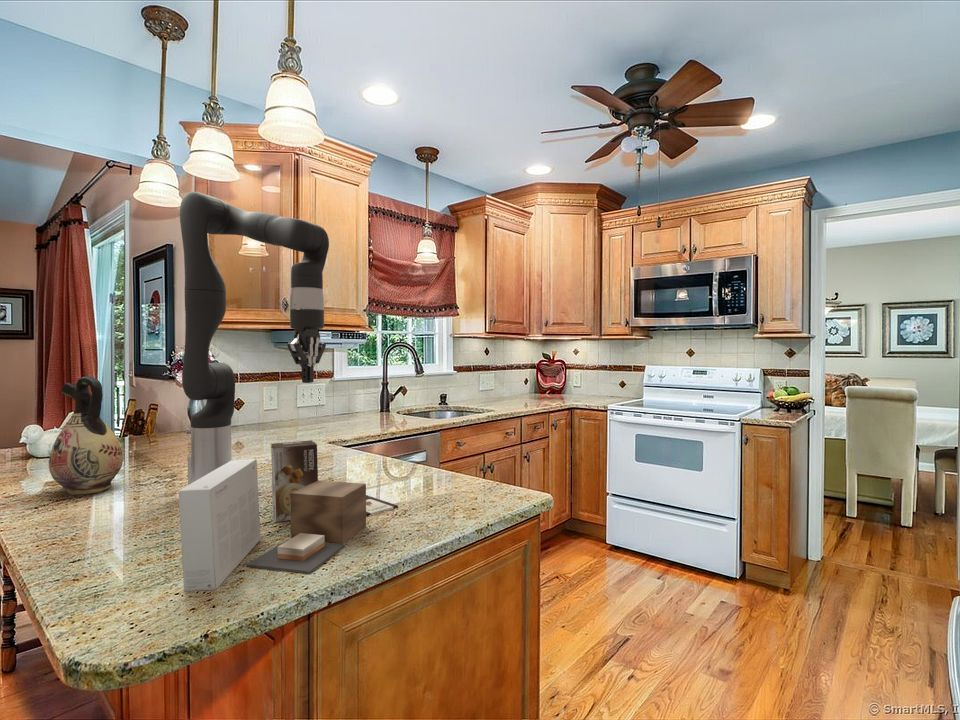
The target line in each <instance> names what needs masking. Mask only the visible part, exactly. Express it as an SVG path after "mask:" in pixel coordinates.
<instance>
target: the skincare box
mask: <svg viewBox="0 0 960 720" xmlns="http://www.w3.org/2000/svg"><path fill="white" fill-rule="evenodd" d="M257 462H258V461H257V459H256V458H255V459H254V458H253V459H251V458H250V459H234V460H233V459H232V460H231V461H229V462H228V463H226V464H224V465H222V466H221V467H219V468H217V469H215V470H214V471H212V472H210V473H208V474H207V475H205V476H203V477H202V478H200V479H198V480H196V481H195V482H193V483H191V484H189V485H188V484H187V485H186V486H184V487H182V488H181V489H179V490H178V504H179V505H178V506H179V524H180V525H179V528H180V540H181V541H180V542H181V562H182V564H181V565H182V579H183V581H182V582H183V583H182V584H183V592H195V591H213V590H214V591H215V590H217V589H218V588H219V587H220V586H221V585H222V583H224V581H225V580H226V579H227V578H228V577H230V575H231V573H232V572H233V571H234V570H235V569H236V567H237V566H239V564H241V562H242V561H243V560H244V559H245V557H246V556H247V555H249V553H250V552H252V550H253V549H254V547H255V546H256V545H257V544H258V543H259V542H260V540H261V539H262V536H261V534H262V533H261V522H260V505H259V504H260V502H259V500H260V499H259V482H258V480H259V479H258V463H257Z"/></svg>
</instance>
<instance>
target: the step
mask: <svg viewBox="0 0 960 720" xmlns="http://www.w3.org/2000/svg"><path fill="white" fill-rule="evenodd" d="M366 495H367V483H364V482H363V483H361V482H346V481H345V482H344V481H343V482H342V481H332V480H331V481H330V480H318V481H316V482H314V483H312V484H310V485H307V486H305V487H303V488H301V489H299V490H297V491H295V492H292V493H291V520H290V539H291V538H293V537H295V536H296V535H298V534H300V533H305V534H316V535H325V543H333V544H344V545H345V544H346V542H348V541H349V540H350V539H352V538H353V537H354V536H356V535H357V534H359V533H360V532H361V531H362V530H364V529H365V528H367V517H366Z"/></svg>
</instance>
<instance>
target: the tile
mask: <svg viewBox="0 0 960 720" xmlns="http://www.w3.org/2000/svg"><path fill="white" fill-rule="evenodd" d="M289 539H290V540H288V541H287V542H285V543H283V544H282V545H280V546H278V545H277V546H278V558H281V559H290V560H299V561H304V560H305V559H307V558H308V557H310V556H311V555H312V554H314V553H315V552H317V551H318V550H320V549H321V548H322V547H324V546H325V535H316V534H305V533H300V534H298V535H296V536H295V537H293V538H291V537H290V538H289Z"/></svg>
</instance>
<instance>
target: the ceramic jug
mask: <svg viewBox="0 0 960 720" xmlns="http://www.w3.org/2000/svg"><path fill="white" fill-rule="evenodd" d="M89 388H90V389H89ZM89 390H90V391H89ZM103 393H104V392H103V385H102V383H101V381H100V380H99V379H97V378H95V377H94V376H91V375H85V376H82V377H80V378H78V379H77V381H76V384H75V385H74V384H72V383H71V382H66V383H64V385H63V386H61V394H63V395H64V396H67V397H70V398H72V399H73V400H74V402H75V403H74V411H73V412H72V415H71V417H70V418H69V419H68V420H67V422H66V423H65V424H64V426H63V427H62V429H61V431H60V432H59V434H57V437H56V438H55V441H54V442H53V445H52V447H51V450H50V455H49V460H48V470H49V473H50V476H51V477H52V479H53V480H54V481H55V482H56V483H58V484H59V485H60V486H61V487H62V488H63V489H64V490H65V491H66V493H67V494H68V495H70V496H71V495H73V496H75V495H88V494H94V493H101V492H103V491H104V492H105V490H108V489H110V488H111V487H112V481H113V479H115V477H117V475H118V474H119V472H121V471H120V470H121V469H122V467H123V463H124V454H123V450H122V449H123V448H122V446H121V443H120V441H119V439H118V437H117V436H116V434H115V433H114V432H113V430H112V429H111V428H110V427H109V425H108V424H107V423H106V422H105V421H103V420H102V417H101V411H102V403H103V402H102V401H103V397H104V396H103V395H104V394H103Z"/></svg>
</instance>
